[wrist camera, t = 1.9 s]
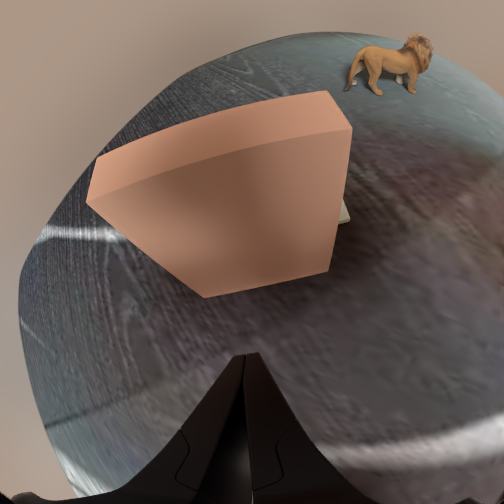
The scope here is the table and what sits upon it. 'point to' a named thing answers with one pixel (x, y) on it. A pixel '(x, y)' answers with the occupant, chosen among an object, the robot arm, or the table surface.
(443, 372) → the table surface
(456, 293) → the table surface
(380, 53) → the lion figurine
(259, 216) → the terracotta board
